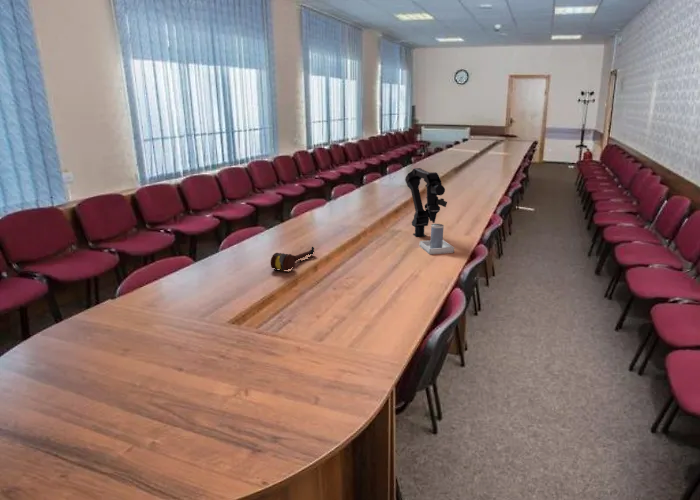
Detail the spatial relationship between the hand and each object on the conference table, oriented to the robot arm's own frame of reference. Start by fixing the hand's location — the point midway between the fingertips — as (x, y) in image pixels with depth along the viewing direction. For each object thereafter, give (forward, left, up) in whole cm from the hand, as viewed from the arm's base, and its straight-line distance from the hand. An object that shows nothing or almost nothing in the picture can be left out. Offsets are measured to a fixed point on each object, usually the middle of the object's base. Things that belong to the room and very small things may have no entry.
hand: (432, 221), depth 277 cm
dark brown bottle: (+21, -82, -13) cm, 85 cm away
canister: (+14, -3, -11) cm, 18 cm away
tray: (+14, -3, -12) cm, 19 cm away
